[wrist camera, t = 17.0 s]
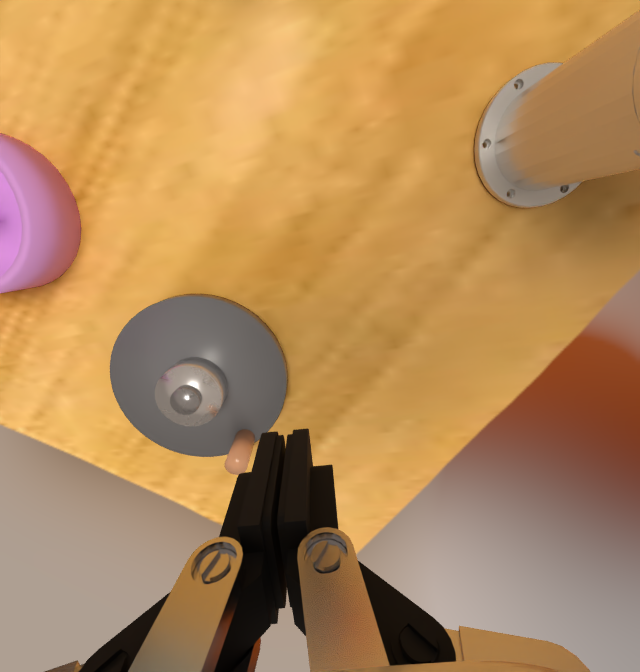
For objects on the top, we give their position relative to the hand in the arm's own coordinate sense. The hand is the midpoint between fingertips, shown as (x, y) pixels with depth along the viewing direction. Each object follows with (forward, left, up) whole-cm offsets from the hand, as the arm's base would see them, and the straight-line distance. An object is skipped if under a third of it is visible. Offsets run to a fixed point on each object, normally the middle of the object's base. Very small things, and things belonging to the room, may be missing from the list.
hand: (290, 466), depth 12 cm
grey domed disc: (+13, +7, -27) cm, 31 cm away
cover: (+13, +7, -25) cm, 29 cm away
